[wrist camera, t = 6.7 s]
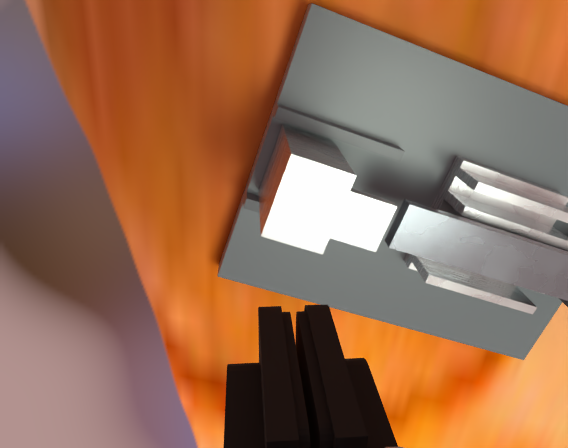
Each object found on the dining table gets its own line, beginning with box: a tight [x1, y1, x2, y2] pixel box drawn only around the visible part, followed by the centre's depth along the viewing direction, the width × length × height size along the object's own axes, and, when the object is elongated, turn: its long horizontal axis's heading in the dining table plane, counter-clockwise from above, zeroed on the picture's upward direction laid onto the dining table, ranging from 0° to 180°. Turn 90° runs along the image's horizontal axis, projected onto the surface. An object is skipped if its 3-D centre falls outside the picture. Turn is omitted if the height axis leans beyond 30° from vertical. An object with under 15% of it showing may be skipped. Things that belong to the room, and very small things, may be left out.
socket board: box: [218, 3, 568, 360], centre depth 28 cm, size 22×16×4 cm
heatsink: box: [404, 155, 568, 314], centre depth 27 cm, size 7×7×3 cm
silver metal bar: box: [384, 199, 568, 301], centre depth 25 cm, size 15×3×2 cm, turn 70°
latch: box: [259, 124, 397, 254], centre depth 24 cm, size 5×4×6 cm
